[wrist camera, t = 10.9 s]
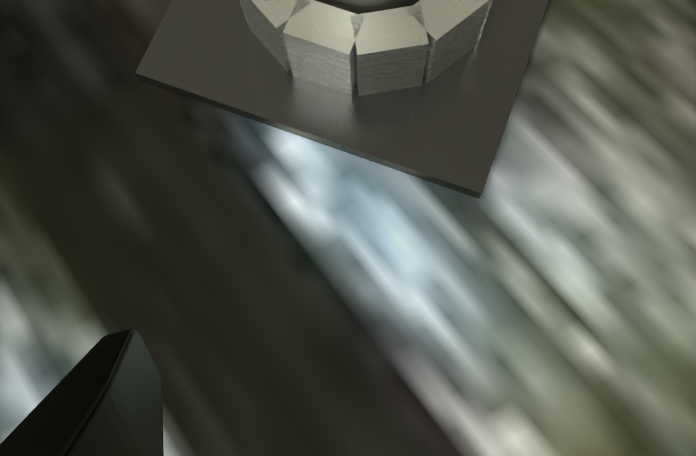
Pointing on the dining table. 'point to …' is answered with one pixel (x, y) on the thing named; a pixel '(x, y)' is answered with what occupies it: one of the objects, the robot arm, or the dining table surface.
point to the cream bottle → (368, 5)
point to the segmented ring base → (359, 75)
